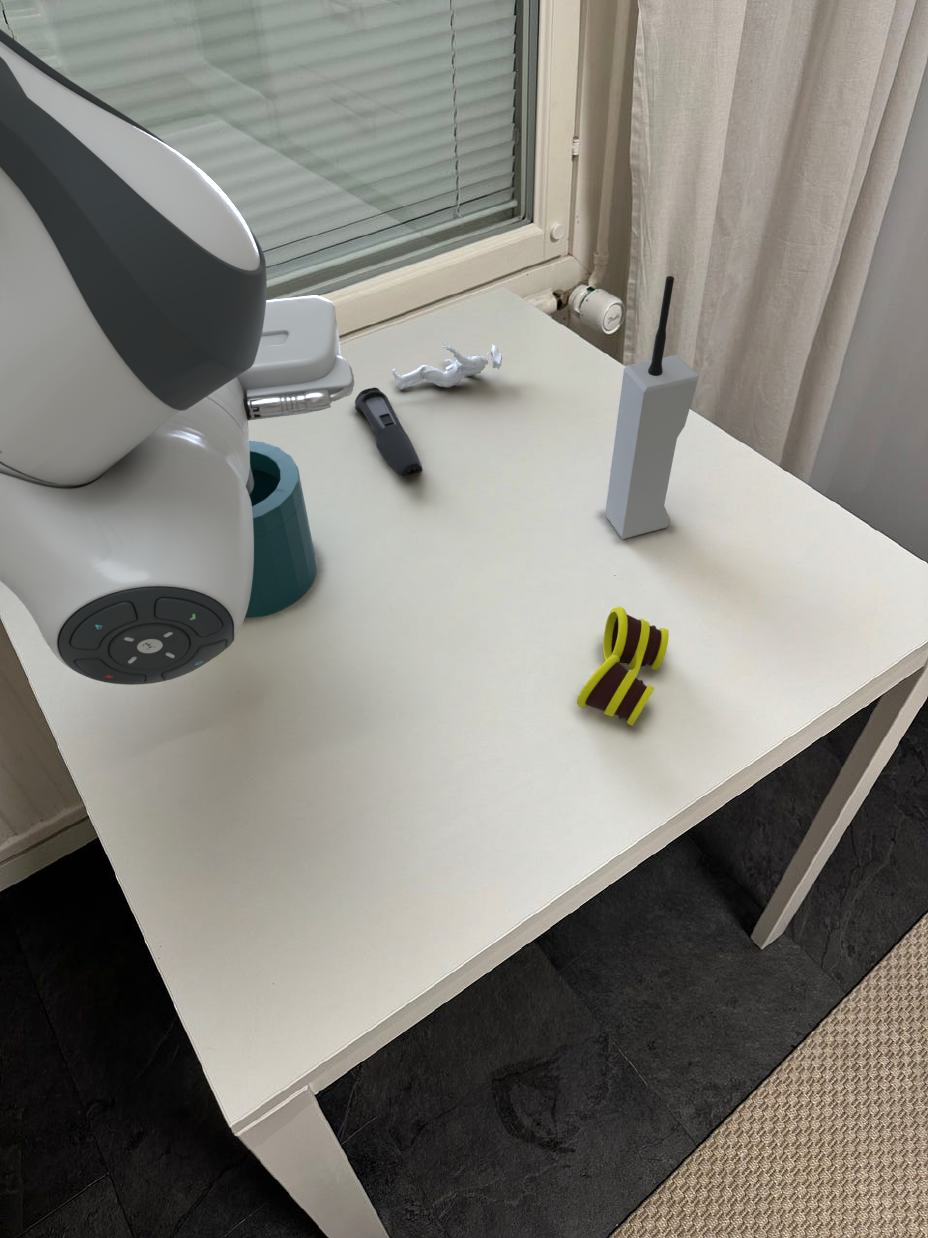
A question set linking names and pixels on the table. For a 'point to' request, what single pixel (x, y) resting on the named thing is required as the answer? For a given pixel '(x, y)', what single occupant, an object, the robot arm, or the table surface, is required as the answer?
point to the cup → (278, 532)
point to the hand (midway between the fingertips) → (170, 298)
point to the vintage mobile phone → (648, 435)
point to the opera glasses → (614, 682)
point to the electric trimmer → (388, 432)
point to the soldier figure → (449, 369)
